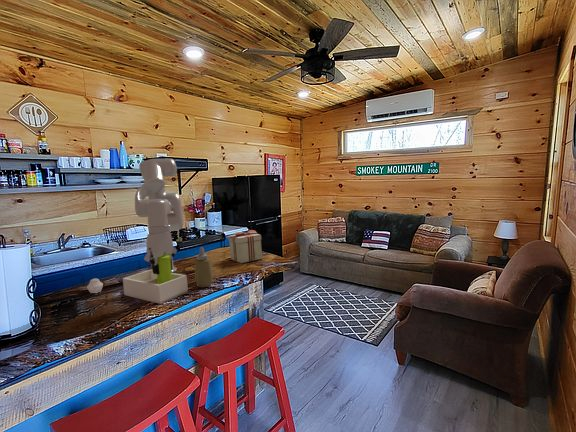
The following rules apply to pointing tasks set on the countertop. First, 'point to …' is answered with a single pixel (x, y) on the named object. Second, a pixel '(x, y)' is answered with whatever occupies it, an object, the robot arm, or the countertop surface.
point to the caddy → (154, 287)
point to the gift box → (245, 246)
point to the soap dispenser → (164, 269)
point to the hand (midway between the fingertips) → (163, 271)
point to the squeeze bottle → (203, 270)
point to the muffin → (95, 286)
